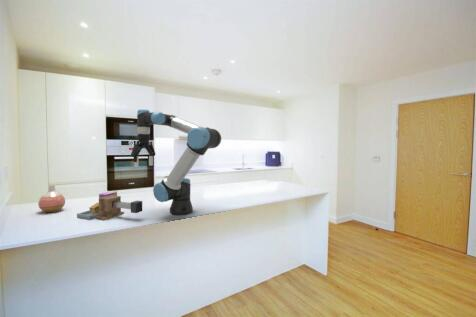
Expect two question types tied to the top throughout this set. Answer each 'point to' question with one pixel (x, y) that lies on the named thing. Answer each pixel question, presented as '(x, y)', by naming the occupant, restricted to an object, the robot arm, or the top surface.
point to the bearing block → (108, 207)
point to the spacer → (94, 209)
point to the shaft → (129, 205)
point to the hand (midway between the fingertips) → (144, 166)
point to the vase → (51, 200)
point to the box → (108, 194)
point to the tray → (87, 215)
